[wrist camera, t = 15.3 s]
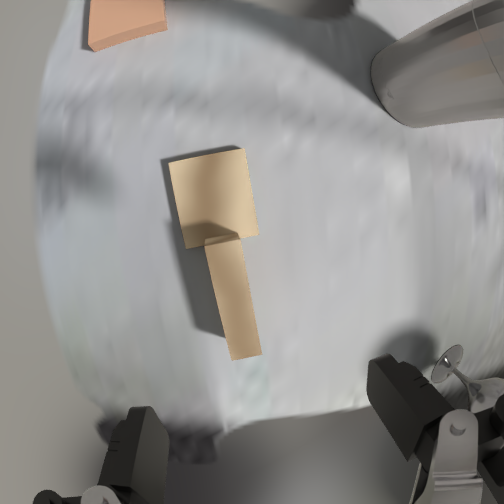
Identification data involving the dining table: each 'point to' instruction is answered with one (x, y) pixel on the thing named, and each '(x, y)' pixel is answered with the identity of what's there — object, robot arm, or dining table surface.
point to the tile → (124, 21)
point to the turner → (221, 235)
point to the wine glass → (469, 381)
